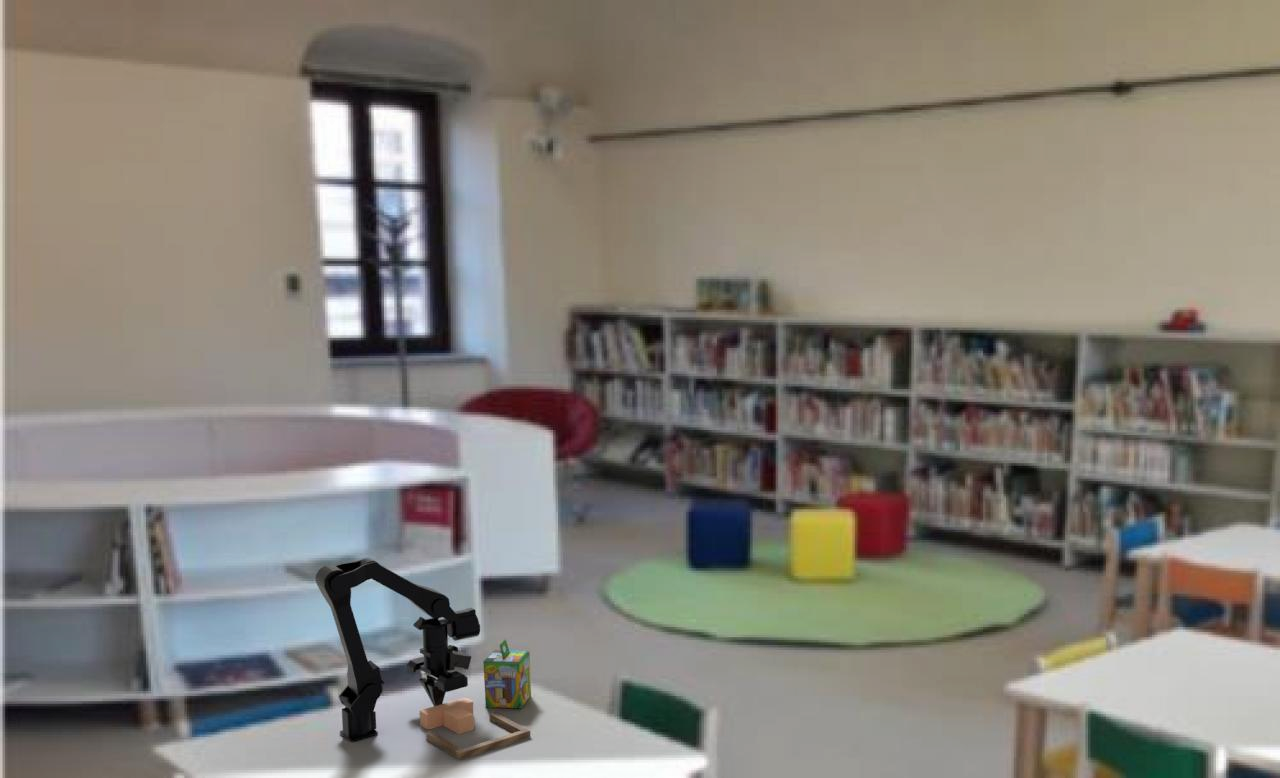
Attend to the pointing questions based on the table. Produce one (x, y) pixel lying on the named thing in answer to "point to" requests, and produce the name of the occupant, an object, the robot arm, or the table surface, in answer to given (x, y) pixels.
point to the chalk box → (507, 678)
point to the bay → (460, 754)
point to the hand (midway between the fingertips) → (438, 709)
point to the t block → (449, 716)
